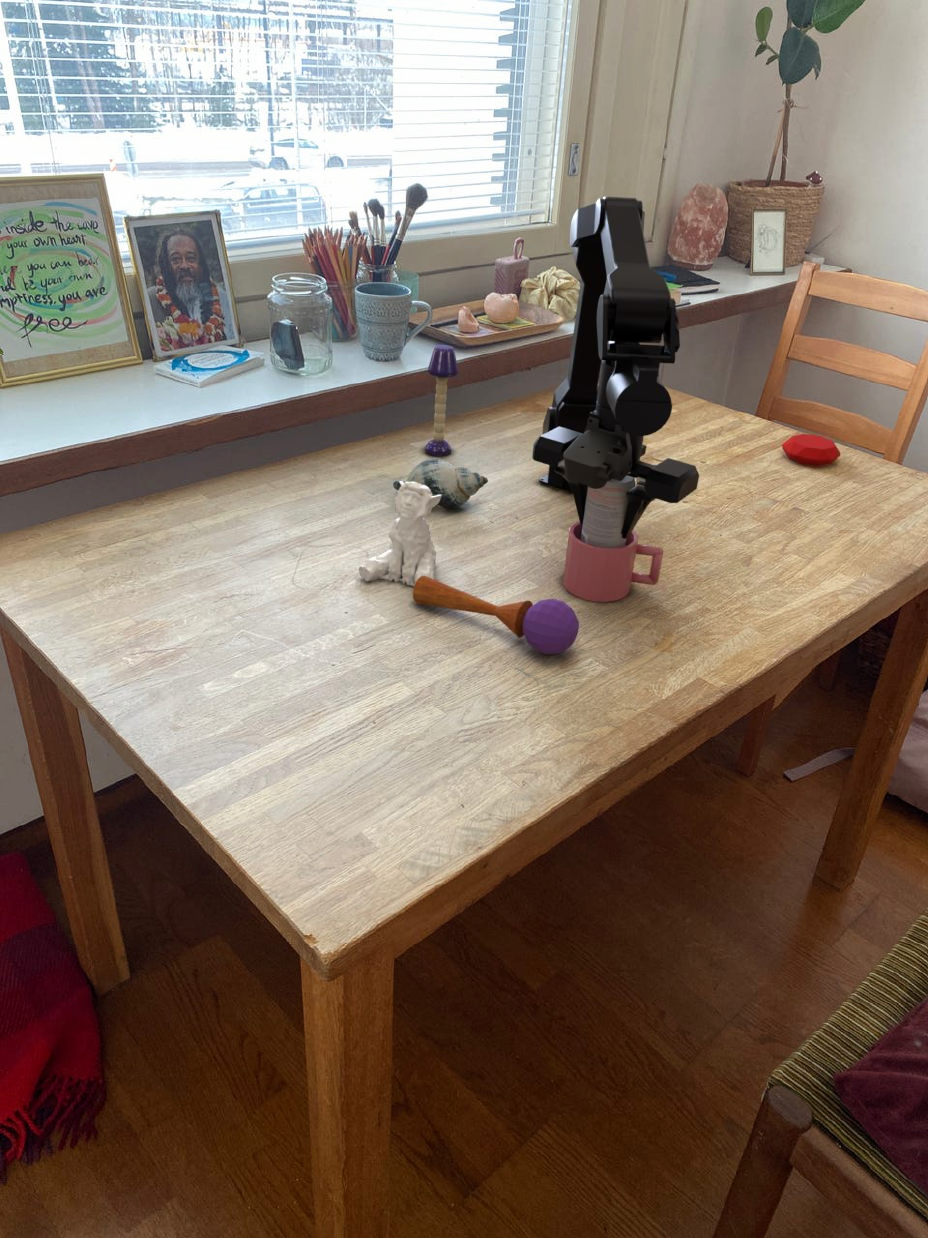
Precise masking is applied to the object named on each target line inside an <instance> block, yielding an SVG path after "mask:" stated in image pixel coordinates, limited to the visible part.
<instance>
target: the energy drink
mask: <svg viewBox="0 0 928 1238" xmlns="http://www.w3.org/2000/svg"><path fill="white" fill-rule="evenodd" d="M636 484H637V483H636V478H634V477H631V476H628V475H626V476H625V477H624V479H623V480H622V481H618V480H615V479H611V480H610V481H607V483H606V485H605V486H604V487H602V488H599V489H593V488H590V487H588V491H587V498H586V505H585V512H584V520H583V527H582V534H581V541H582V542H583V543H586V544H589V545H592V546H595V547H601V548H620V547H624V546H625V544H626V539H623V538H622V531H623V524H624V520H625V515H626V511H627V506H628V498H627V495H626V492H628V491H629V490H631V489H632V488H634V487H635V486H636Z"/></svg>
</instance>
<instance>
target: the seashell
mask: <svg viewBox="0 0 928 1238" xmlns="http://www.w3.org/2000/svg"><path fill="white" fill-rule="evenodd" d="M399 481H402V482H403V483H405V482H416V483H420V484H421V485H426V486H427V487H428V488H429V489H430V490H431V493H432V495H433V496H436V495H442V497H441V499H440V501H439V503H438V504H437V505H436V506H438V507H440V508H443V509H456V508H459V507H461V506H463V505H465V504H466V503H467V502H468V501H469V499H470V498H471V496H474V495H475V494H477V492H478V491H479V490H480V489H482V488H484V486H485V485H487V484H488V482H489V479H488V477H485V476H483V475H480V474H479V473H477V472H473V471H471V470H469V469H467V468H466V467H455V466H454V465H453V464H451V463H450V462H448V461H446V460H444V459H442V458H438V457H432V458H428V459H425V460H423V461H422V462H420V463H419V464H417V465H416V466H415V467H414V469H412V471H410V473H408V474H407V476H405V477H404V478H399V479H397V480H395V481H394V482H393V483H392V486H393V488H394V490H396V491H398V490H399V489H400V487H401V484H400V482H399Z"/></svg>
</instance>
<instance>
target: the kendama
mask: <svg viewBox="0 0 928 1238" xmlns="http://www.w3.org/2000/svg"><path fill="white" fill-rule="evenodd" d="M412 599H413V601H414V602H415V603H416V604H419V605H424V606H425V605H426V606H430V607H437V608H443V609H450V610H456V611H462V612H467V613H468V612H469V613H474V614H481V615H488V616H492V617H493V616H494V617H496V618H497V619H498V620H499V621H500V622H501V623H502V624H503V625H504V626H505V627H506V628H508V629H509V630H510V631H511V632H512V633H513V634H514V635H515V636H516V637H517V638H523V637H525V641H526V643H527V644H528V645H529V646H530V647H532V648H533V649H534V650H535V651H536V652H538V653H540V654H544V655H547V656H548V655H555V654H562V653H563V652H565V651H567V650H568V649H570V648H571V647H572V646H573V645H574V643H575V641H576V640H577V637H578V634H579V628H580V627H579V626H580V622H579V618H578V615H576V612H575V610H574V609H573V608H572V607H571V606H570V605H569V604H568V603H566V602H565V601H564V600H559V599H556V598H548V599H541V600H538V601H537V602H535V603H534V604H533V602H532V601H531V600H524V601H518V602H514V603H508V604H503V605H499V606H498V605H495V604H493V603H491V602H489V601H487V600H484V599H481V598H479V597H477V596H475V595H472V594H470V593H467V592H464V591H462V590H460V589H457V588H456V587H453V586H451V585H448V584H445V583H443V582H441V581H438V580H436V579H435V580H434V579H432V578H429V577H427V576H421V577H420V578H418V580H417V581H416V583H415V585H414V586H413V590H412Z"/></svg>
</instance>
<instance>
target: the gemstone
mask: <svg viewBox="0 0 928 1238" xmlns="http://www.w3.org/2000/svg"><path fill="white" fill-rule="evenodd" d="M781 448H782V451H783V452H784V453H785V455H786V456H787V458H788V459H789V460H791V461H793V462H795V463H798V464H799V465H802V466H810V467H817V468H820V467H824V466H828V465H831V464H833V463H834V462H835V461H836V460H838V459H839V457H841V450H840V449H839V448H838V446H837V445H836V444H835V442H834V441H833V440H831V439H829V438H826V437H824V436H821V435H817V434H809V433H800V434H795V435H792V436H791V437H789V438H788V439H787V440H786V441H784V442H783V443H782V444H781Z"/></svg>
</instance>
